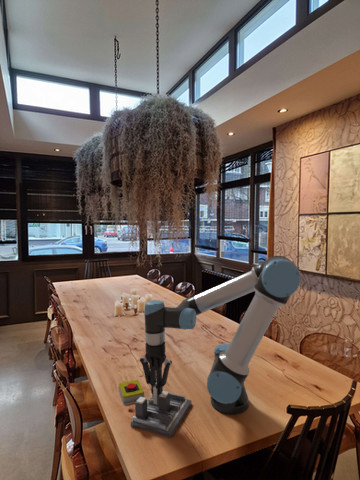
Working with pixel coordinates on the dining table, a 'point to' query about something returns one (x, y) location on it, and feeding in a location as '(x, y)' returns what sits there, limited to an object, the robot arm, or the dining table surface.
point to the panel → (163, 416)
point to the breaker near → (141, 408)
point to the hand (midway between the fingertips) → (156, 402)
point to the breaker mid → (164, 401)
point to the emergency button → (130, 391)
